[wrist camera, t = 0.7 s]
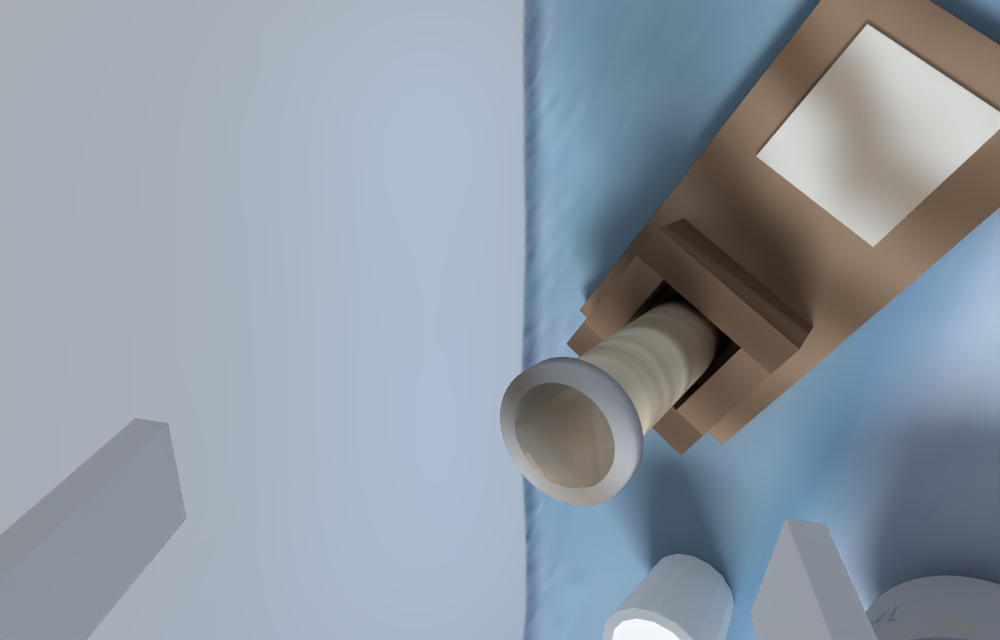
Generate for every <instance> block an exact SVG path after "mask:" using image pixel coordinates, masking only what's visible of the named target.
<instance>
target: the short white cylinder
mask: <svg viewBox="0 0 1000 640" xmlns="http://www.w3.org/2000/svg"><path fill="white" fill-rule="evenodd" d="M733 609H734V601H733V596H732V591H731V589H730V587H729V586H728V584H727V582H726V581H725V579H724V578H723V576H722V575H721V574H720V573H719V572H718V571H716V570H715V569H714V568H713V567H712V566H711V565H710V564H708V563H706V562H704V561H702V560H700V559H698V558H696V557H694V556H691V555H684V554H673V555H670V556H666V557H663V558H662V559H661V560H660V561H659V562H658V563H657V564H656V565H655V566H654V568H653V569H652V570H651V571H650V572H649V573H648V574H647V576H646V577H645V578H644V579H643V580H642V581H641V582H640V584H639V585H638V586H637V587H636V588H635V589H634V590H633V592H632V593H631V594H630V595H629V596H628V597H627V598H626V600H625V601H624V602H623V603H622V604H621V605H620V606H619V608H618V609H617V610H616V611H615V612H614V613H613V614H612V616H611V617H610V618H609V619H608V620H607V621H606V624H605V628H604V633H603V637H602V638H603V640H725V639H726V635H727V631H728V628H729V624H730V620H731V616H732V613H733Z"/></svg>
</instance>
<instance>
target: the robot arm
mask: <svg viewBox="0 0 1000 640" xmlns="http://www.w3.org/2000/svg"><path fill="white" fill-rule="evenodd" d="M185 519H186V514H185V508H184V503H183V498H182V493H181V487H180V482H179V477H178V472H177V467H176V462H175V456H174V451H173V446H172V441H171V435H170V430H169V425H168V423H163V422H156V421H150V420H144V419H138V418H135V419H134V420H133V421H132V422H130V423H129V424H128V425H127V426H126V427H125V428H123V429H122V430H121V431H120V432H119V433H118V434H117V435H116V436H114V437H113V438H112V439H111V440H110V441H109V442H107V443H106V444H105V445H104V446H103V447H102V448H100V449H99V450H98V451H97V452H96V453H95V454H93V455H92V456H91V457H90V458H89V459H88V460H87V461H85V462H84V463H83V464H82V465H81V466H80V467H78V468H77V469H76V470H75V471H74V472H73V473H72V474H70V475H69V476H68V477H67V478H66V479H65V480H63V481H62V482H61V483H60V484H59V485H58V486H57V487H55V488H54V489H53V490H52V491H51V492H50V493H49V494H47V495H46V496H45V497H44V498H43V499H42V500H40V501H39V502H38V503H37V504H36V505H35V506H34V507H32V508H31V509H30V510H29V511H28V512H27V513H25V514H24V515H23V516H22V517H21V518H20V519H19V520H17V521H16V522H15V523H14V524H13V525H12V526H11V527H9V529H7V530H6V531H5V532H4V533H2V534H1V535H0V640H87V639H88V637H89V636H90V635H91V634H92V633H93V631H94V630H95V629H96V628H97V627H98V625H99V624H100V623H101V622H102V620H103V619H104V618H105V617H106V616H107V614H108V613H109V612H110V611H111V610H112V608H113V607H114V606H115V605H116V603H117V602H118V601H119V600H120V598H121V597H122V596H123V595H124V594H125V592H126V591H127V590H128V589H129V588H130V586H131V585H132V584H133V583H134V581H135V580H136V579H137V578H138V576H139V575H140V574H141V573H142V572H143V570H144V569H145V568H146V567H147V566H148V564H149V563H150V562H151V561H152V560H153V558H154V557H155V556H156V554H157V553H158V552H159V551H160V550H161V549H162V547H163V546H164V545H165V544H166V542H167V541H168V540H169V539H170V538H171V536H172V535H173V534H174V533H175V531H176V530H177V529H178V528H179V527H180V525H181V524H182V523H183V522H184V520H185ZM751 616H752V620H753V624H754V628H755V632H756V636H757V639H758V640H878V639H877V637H876V635H875V632H874V630H873V628H872V626H871V624H870V621H869V619H868V617H867V615H866V613H865V610H864V608H863V606H862V604H861V602H860V599H859V597H858V595H857V593H856V591H855V588H854V586H853V584H852V582H851V580H850V577H849V575H848V573H847V571H846V569H845V566H844V564H843V562H842V560H841V558H840V555H839V553H838V551H837V549H836V547H835V544H834V542H833V540H832V538H831V536H830V533H829V531H828V529H827V527H826V525H825V524H821V523H814V522H808V521H801V520H795V519H788V518H786V519H785V521H784V524H783V527H782V530H781V532H780V535H779V538H778V540H777V543H776V546H775V548H774V551H773V554H772V556H771V559H770V562H769V565H768V567H767V570H766V573H765V575H764V578H763V581H762V583H761V586H760V589H759V591H758V594H757V597H756V599H755V602H754V605H753V608H752V610H751Z"/></svg>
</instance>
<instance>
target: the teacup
mask: <svg viewBox="0 0 1000 640" xmlns="http://www.w3.org/2000/svg"><path fill="white" fill-rule="evenodd" d="M866 615H867V617H868V619H869V621H870V624H871V626H872V628H873V630H874V632H875V635H876V637H877V639H878V640H1000V584H996V583H993V582H990V581H986V580H981V579H976V578H971V577H964V576H950V575H940V576H929V577H921V578H917V579H913V580H909V581H906V582H903V583H901V584H899V585H897V586H895V587H893V588H891V589H889V590H888V591H886V592H885V593H884V594H882V595H881V596H880V597H878V598H877V599H876V600H875V602H874V603H873V604H872V605H871V606H870V607H869V609H868V610H867V611H866Z"/></svg>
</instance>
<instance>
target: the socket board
mask: <svg viewBox="0 0 1000 640" xmlns="http://www.w3.org/2000/svg"><path fill="white" fill-rule="evenodd" d="M999 207H1000V45H999V44H997V43H996V42H994V41H993V40H991V39H989V38H988V37H986V36H985V35H983V34H982V33H980V32H978V31H977V30H975V29H974V28H972V27H971V26H969V25H967V24H966V23H964V22H963V21H961V20H959V19H958V18H956V17H955V16H953V15H952V14H950V13H948V12H947V11H945V10H944V9H942V8H941V7H939V6H937V5H936V4H934V3H933V2H931V1H930V0H821V1H820V2H819V3H818V5H817V6H816V7H815V9H814V10H813V11H812V12H811V14H810V15H809V16H808V18H807V19H806V20H805V21H804V23H803V24H802V25H801V27H800V28H799V29H798V30H797V32H796V33H795V34H794V36H793V37H792V38H791V39H790V41H789V42H788V43H787V45H786V46H785V47H784V48H783V50H782V51H781V52H780V53H779V55H778V56H777V57H776V59H775V60H774V61H773V62H772V64H771V65H770V66H769V68H768V69H767V70H766V71H765V73H764V74H763V75H762V77H761V78H760V79H759V80H758V82H757V83H756V84H755V86H754V87H753V88H752V89H751V91H750V92H749V93H748V95H747V96H746V97H745V98H744V100H743V101H742V102H741V104H740V105H739V106H738V107H737V109H736V110H735V111H734V113H733V114H732V115H731V116H730V118H729V119H728V120H727V122H726V123H725V124H724V125H723V127H722V128H721V129H720V131H719V132H718V133H717V134H716V136H715V137H714V138H713V140H712V141H711V142H710V143H709V145H708V146H707V147H706V148H705V150H704V151H703V152H702V154H701V155H700V156H699V157H698V159H697V160H696V161H695V163H694V164H693V165H692V166H691V168H690V169H689V170H688V172H687V173H686V174H685V175H684V177H683V178H682V179H681V181H680V182H679V183H678V184H677V186H676V187H675V188H674V190H673V191H672V192H671V193H670V195H669V196H668V197H667V199H666V200H665V201H664V202H663V204H662V205H661V206H660V208H659V209H658V210H657V211H656V213H655V214H654V215H653V217H652V218H651V219H650V220H649V222H648V223H647V224H646V226H645V227H644V228H643V229H642V231H641V232H640V233H639V234H638V236H637V237H636V238H635V240H634V241H633V242H632V243H631V245H630V246H629V247H628V249H627V250H626V251H625V252H624V254H623V255H622V256H621V258H620V259H619V260H618V261H617V263H616V264H615V265H614V267H613V268H612V269H611V270H610V272H609V273H608V274H607V276H606V277H605V278H604V279H603V281H602V282H601V283H600V285H599V286H598V287H597V288H596V290H595V291H594V292H593V294H592V295H591V296H590V297H589V299H588V300H587V301H586V303H585V304H584V305H583V306H582V308H581V309H580V311H581V312H582V313H583V314H584V315H585V316H586V317H587V319H586V320H585V321H584V322H583V324H582V325H581V326H580V327H579V329H578V330H577V331H576V332H575V334H574V335H573V336H572V337H571V339H570V340H569V341H568V343H567V345H568V346H569V347H570V348H571V349H572V350H573V351H574V352H576V353H577V354H578V355H579V356H581V355H583V354H584V353H586V352H587V351H589V350H590V349H592V348H593V347H595V346H596V345H598V344H599V343H601V342H602V341H604V340H605V339H607V338H608V337H610V336H611V335H613V334H614V333H616V332H618V331H619V330H621V329H622V328H624V327H625V326H627V325H628V324H630V323H631V322H633V321H634V320H636V319H637V318H639V317H640V316H642V315H643V314H645V313H646V312H648V311H649V310H651V309H653V308H654V307H656V306H657V305H659V304H660V303H662V302H663V301H665V300H666V299H668V298H669V297H671V296H672V295H674V294H676V293H678V292H679V293H680V294H681V295H682V296H683V297H684V298H685V299H687V300H688V301H689V302H690V303H691V304H692V305H693V306H694V307H696V308H697V309H698V310H699V311H700V312H701V313H702V314H703V315H705V316H706V317H707V318H708V319H709V320H710V321H711V322H712V323H714V324H715V325H716V326H717V327H718V328H719V329H720V330H721V331H723V332H724V333H725V334H726V335H727V336H728V337H729V338H731V340H730V343H729V345H728V347H727V348H726V349H725V351H724V352H723V353H722V354H721V355H720V356H719V357H718V358H717V359H716V360H715V361H714V362H713V363H712V365H711V366H710V367H709V368H708V369H707V370H706V371H705V372H704V373H703V374H702V375H701V376H700V377H699V378H698V379H697V380H696V381H695V383H694V384H693V385H692V386H691V387H690V388H689V389H688V390H687V391H686V392H685V393H684V394H683V395H682V396H681V397H680V398H679V400H678V401H677V402H676V403H675V404H674V405H673V406H672V407H671V408H670V409H669V410H668V411H667V412H666V413H665V414H664V415H663V416H662V418H661V419H660V420H659V421H658V422H657V423H656V424H655V425H654V426H653V427H652V428H653V429H654V430H655V431H656V432H658V433H659V434H660V435H661V436H662V437H663V438H664V439H665V440H666V441H667V442H668V443H669V444H670V445H671V446H672V447H673V448H674V449H675V450H676V451H677V452H678V453H679V454H680V455H682V454H683V453H684V452H685V451H686V450H687V449H688V448H690V447H691V446H692V445H693V444H694V443H695V442H696V441H697V440H698V439H700V438H701V437H702V436H703V435H704V434H705V433H706V432H708V433H709V434H711V435H712V436H713V437H714V438H715V439H716V440H717V441H718V442H719V443H720V444H721V445H723V444H724V443H725V442H726V441H727V440H729V439H730V438H731V437H732V436H733V435H734V434H736V433H737V432H738V431H739V430H740V429H741V428H743V427H744V426H745V425H746V424H747V423H748V422H750V421H751V420H752V419H753V418H754V417H755V416H757V415H758V414H759V413H760V412H761V411H762V410H764V409H765V408H766V407H767V406H768V405H769V404H771V403H772V402H773V401H774V400H775V399H776V398H778V397H779V396H780V395H781V394H782V393H783V392H785V391H786V390H787V389H788V388H789V387H790V386H792V385H793V384H794V383H795V382H796V381H797V380H799V379H800V378H801V377H802V376H803V375H804V374H806V373H807V372H808V371H809V370H810V369H811V368H813V367H814V366H815V365H816V364H817V363H818V362H820V361H821V360H822V359H823V358H824V357H825V356H827V355H828V354H829V353H830V352H831V351H832V350H834V349H835V348H836V347H837V346H838V345H839V344H841V343H842V342H843V341H844V340H845V339H846V338H848V337H849V336H850V335H851V334H852V333H853V332H855V331H856V330H857V329H858V328H859V327H860V326H862V325H863V324H864V323H865V322H866V321H867V320H869V319H870V318H871V317H872V316H873V315H874V314H876V313H877V312H878V311H879V310H880V309H881V308H883V307H884V306H885V305H886V304H887V303H888V302H890V301H891V300H892V299H893V298H894V297H895V296H897V295H898V294H899V293H900V292H901V291H902V290H904V289H905V288H906V287H907V286H908V285H909V284H911V283H912V282H913V281H914V280H915V279H916V278H918V277H919V276H920V275H921V274H922V273H923V272H925V271H926V270H927V269H928V268H929V267H930V266H932V265H933V264H934V263H935V262H936V261H937V260H939V259H940V258H941V257H942V256H943V255H944V254H946V253H947V252H948V251H949V250H950V249H951V248H953V247H954V246H955V245H956V244H957V243H958V242H960V241H961V240H962V239H963V238H964V237H965V236H967V235H968V234H969V233H970V232H971V231H972V230H974V229H975V228H976V227H977V226H978V225H979V224H981V223H982V222H983V221H984V220H985V219H986V218H988V217H989V216H990V215H991V214H992V213H993V212H995V211H996V210H997V209H998V208H999Z"/></svg>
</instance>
